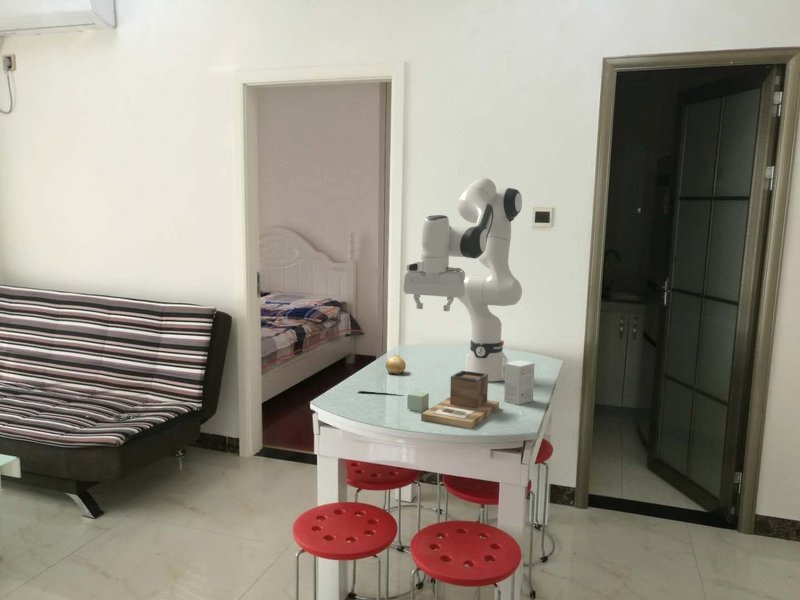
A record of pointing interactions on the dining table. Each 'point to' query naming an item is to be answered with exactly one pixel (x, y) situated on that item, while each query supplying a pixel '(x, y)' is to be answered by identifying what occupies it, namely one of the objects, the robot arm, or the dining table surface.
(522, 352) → the dining table surface
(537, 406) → the dining table surface
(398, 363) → the onion
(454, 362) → the dining table surface
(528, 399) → the small box
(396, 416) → the dining table surface
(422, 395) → the sage block
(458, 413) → the oak base board
